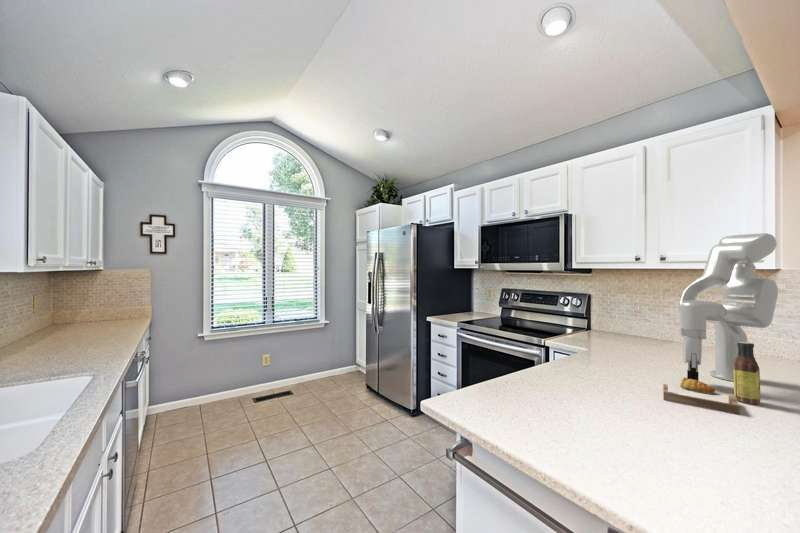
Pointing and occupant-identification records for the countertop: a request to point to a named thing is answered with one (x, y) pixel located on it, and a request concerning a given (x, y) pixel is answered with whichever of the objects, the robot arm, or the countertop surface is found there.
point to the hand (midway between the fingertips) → (692, 380)
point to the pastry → (696, 386)
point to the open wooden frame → (703, 402)
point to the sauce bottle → (746, 375)
